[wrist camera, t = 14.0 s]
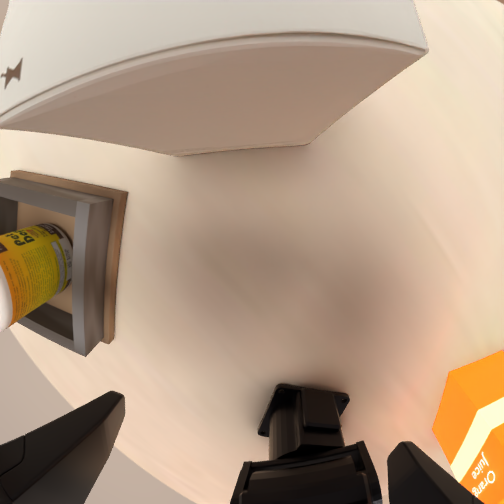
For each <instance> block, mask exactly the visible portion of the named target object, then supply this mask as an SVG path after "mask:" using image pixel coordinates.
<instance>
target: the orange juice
mask: <svg viewBox="0 0 504 504" xmlns="http://www.w3.org/2000/svg"><path fill="white" fill-rule="evenodd" d="M432 430H433V432H434V434H435V436H436V438H437V440H438V442H439V444H440V446H441V447H442V449H443V451H444V453H445V455H446V457H447V459H448V461H449V463H450V465H451V466H450V467H451V469H452V471H453V473H454V475H455V477H456V479H457V481H458V482H459V483H460V484H462V485H463V486H464V487H465V488H466V489H468V490H469V491H470V492H471V493H472V494H474V495H475V496H476V497H477V498H478V499H480V500H481V501H482V502H484V503H485V504H504V352H503V351H502V350H501V351H499V352H497V353H495V354H492V355H490V356H488V357H486V358H483V359H481V360H478V361H476V362H474V363H471V364H468V365H466V366H463V367H461V368H458V369H455V370H453V371H450V372H449V374H448V378H447V382H446V386H445V389H444V393H443V396H442V400H441V403H440V406H439V410H438V413H437V416H436V419H435V422H434V425H433V428H432Z"/></svg>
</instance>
